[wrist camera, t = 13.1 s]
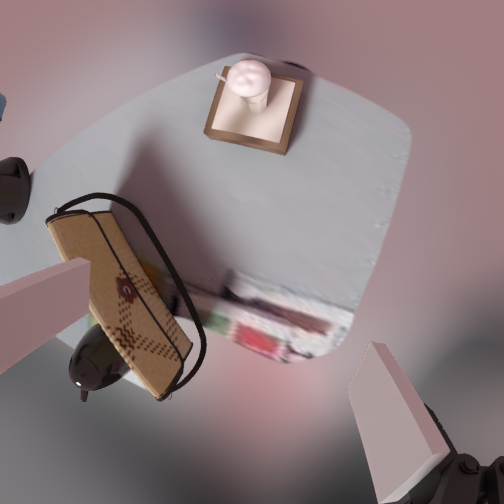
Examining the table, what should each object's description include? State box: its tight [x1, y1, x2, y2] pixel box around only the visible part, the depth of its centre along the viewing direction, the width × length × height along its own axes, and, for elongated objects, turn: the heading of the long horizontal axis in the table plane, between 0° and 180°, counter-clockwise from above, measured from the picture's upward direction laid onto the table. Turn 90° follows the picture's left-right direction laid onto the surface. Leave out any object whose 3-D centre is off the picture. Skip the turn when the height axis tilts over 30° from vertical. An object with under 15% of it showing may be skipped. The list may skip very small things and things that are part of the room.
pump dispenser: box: [69, 323, 131, 402], centre depth 37 cm, size 10×10×15 cm
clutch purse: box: [45, 193, 207, 402], centre depth 34 cm, size 30×7×15 cm, turn 31°
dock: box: [203, 66, 304, 156], centre depth 34 cm, size 11×10×4 cm
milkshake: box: [215, 60, 271, 114], centre depth 27 cm, size 4×5×10 cm
